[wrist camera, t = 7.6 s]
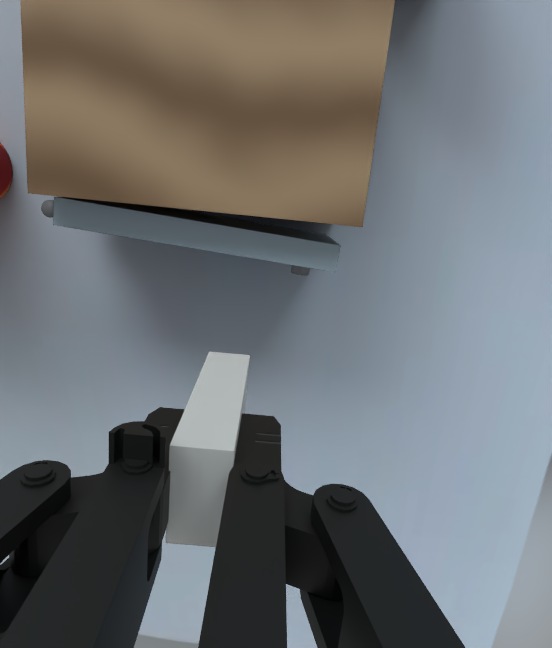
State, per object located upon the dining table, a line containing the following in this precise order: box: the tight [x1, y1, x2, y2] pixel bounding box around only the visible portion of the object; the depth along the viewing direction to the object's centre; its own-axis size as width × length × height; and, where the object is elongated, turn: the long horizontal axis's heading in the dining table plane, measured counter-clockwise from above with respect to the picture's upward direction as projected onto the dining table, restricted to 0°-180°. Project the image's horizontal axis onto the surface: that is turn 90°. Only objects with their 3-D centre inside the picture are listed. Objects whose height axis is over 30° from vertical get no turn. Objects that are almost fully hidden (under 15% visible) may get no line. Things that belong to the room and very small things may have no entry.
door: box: [41, 197, 341, 275], centre depth 32 cm, size 3×18×9 cm, turn 80°
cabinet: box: [21, 0, 395, 227], centre depth 29 cm, size 12×18×12 cm, turn 84°
